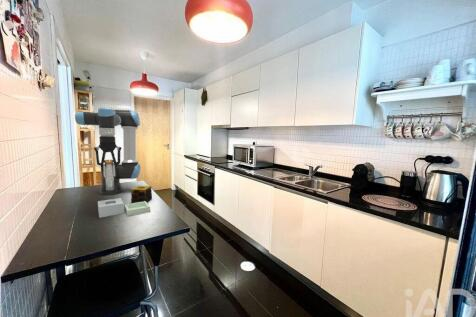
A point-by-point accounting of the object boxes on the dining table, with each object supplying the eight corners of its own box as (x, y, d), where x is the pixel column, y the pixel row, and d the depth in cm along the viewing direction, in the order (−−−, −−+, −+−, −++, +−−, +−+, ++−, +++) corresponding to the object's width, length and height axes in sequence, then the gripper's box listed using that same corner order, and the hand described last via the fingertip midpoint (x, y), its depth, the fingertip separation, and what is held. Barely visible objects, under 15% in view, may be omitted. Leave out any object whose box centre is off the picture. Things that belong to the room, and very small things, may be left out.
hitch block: (98, 211, 120) (97, 201, 119) (121, 207, 127) (120, 198, 126) (99, 217, 110) (98, 207, 110) (124, 213, 118) (123, 203, 117)
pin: (104, 189, 118) (103, 159, 116) (114, 187, 121) (113, 159, 119) (105, 190, 114) (103, 160, 112) (115, 189, 117) (113, 160, 115)
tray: (124, 209, 123) (124, 204, 123) (145, 206, 130) (145, 201, 130) (127, 216, 113) (127, 210, 113) (150, 211, 121) (150, 206, 120)
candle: (145, 204, 134) (145, 189, 133) (130, 203, 134) (130, 189, 133) (152, 199, 144) (152, 185, 143) (138, 199, 144) (138, 185, 143)
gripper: (88, 135, 106) (91, 179, 109) (125, 136, 116) (127, 176, 119) (88, 135, 112) (91, 176, 115) (123, 136, 122) (125, 173, 125)
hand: (109, 176), depth 117 cm, fingers closed on pin, 4 cm apart
